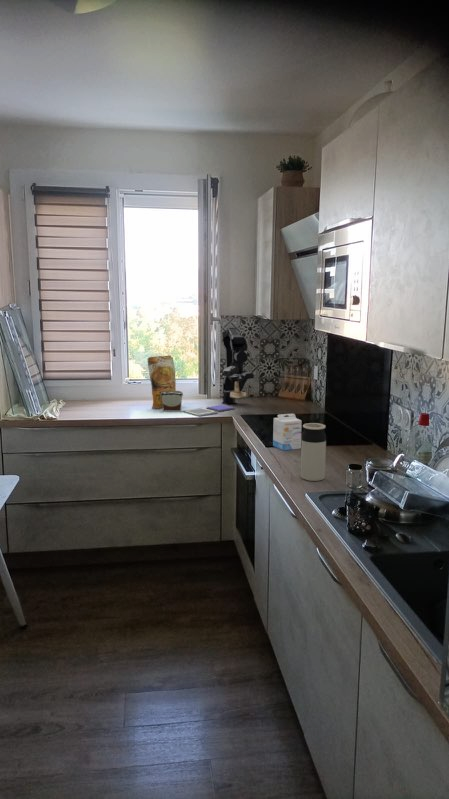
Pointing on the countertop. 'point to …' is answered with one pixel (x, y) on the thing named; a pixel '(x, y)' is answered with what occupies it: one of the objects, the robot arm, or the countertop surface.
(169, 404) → the food container
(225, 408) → the ink pad
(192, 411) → the marked board
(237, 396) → the stamp
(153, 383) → the pancake mix bag
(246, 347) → the robot arm
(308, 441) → the travel mug
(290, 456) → the countertop surface
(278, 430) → the ink box
